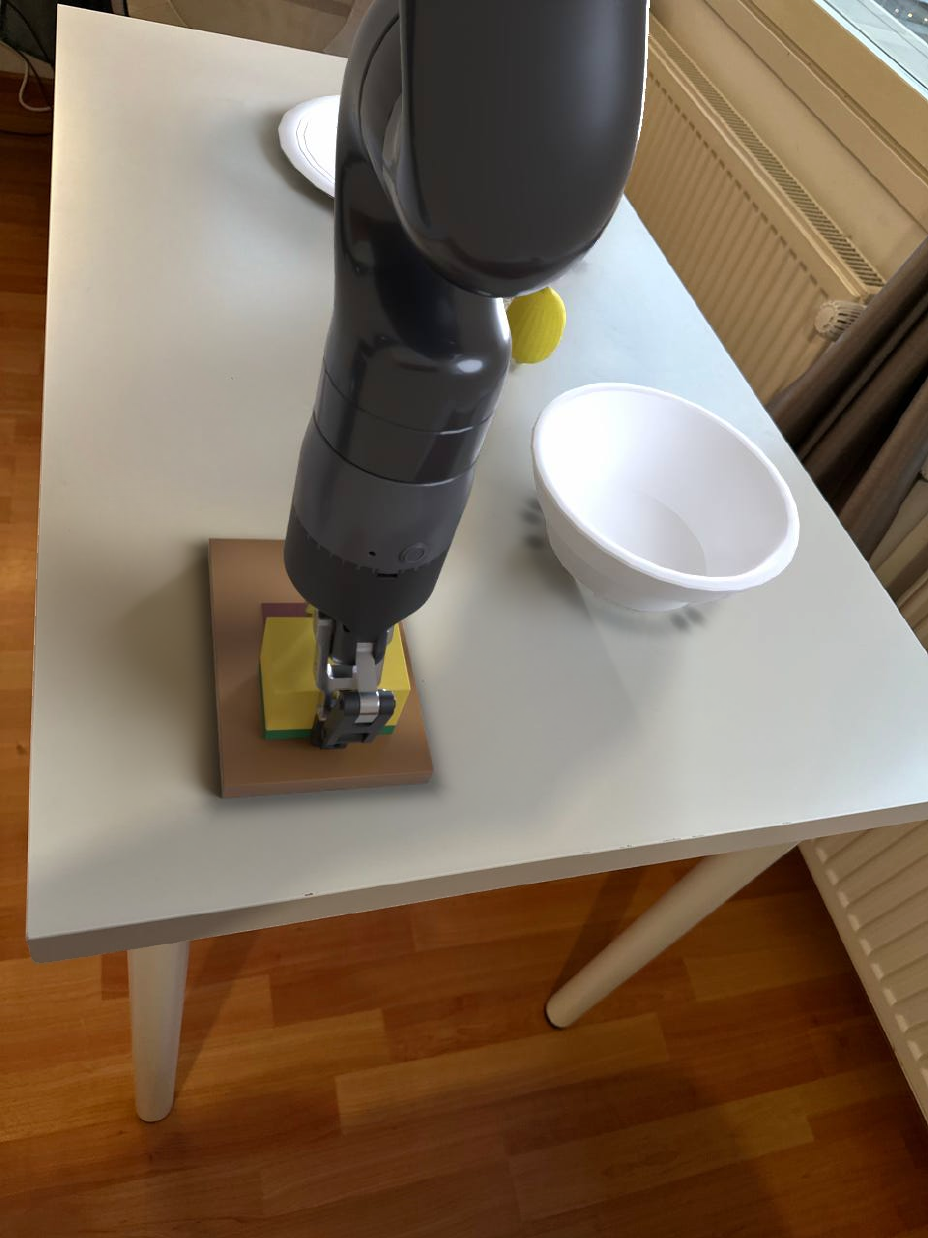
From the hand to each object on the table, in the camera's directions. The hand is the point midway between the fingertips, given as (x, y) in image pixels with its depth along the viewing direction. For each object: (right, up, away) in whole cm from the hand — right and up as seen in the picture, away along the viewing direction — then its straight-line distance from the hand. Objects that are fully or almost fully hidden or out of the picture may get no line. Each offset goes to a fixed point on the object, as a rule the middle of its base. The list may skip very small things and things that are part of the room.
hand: (323, 699), depth 52 cm
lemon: (+13, +29, +30) cm, 43 cm away
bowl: (+21, +10, +18) cm, 30 cm away
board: (-1, +2, +3) cm, 4 cm away
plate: (+2, +54, +46) cm, 71 cm away
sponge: (0, 0, 0) cm, 0 cm away
